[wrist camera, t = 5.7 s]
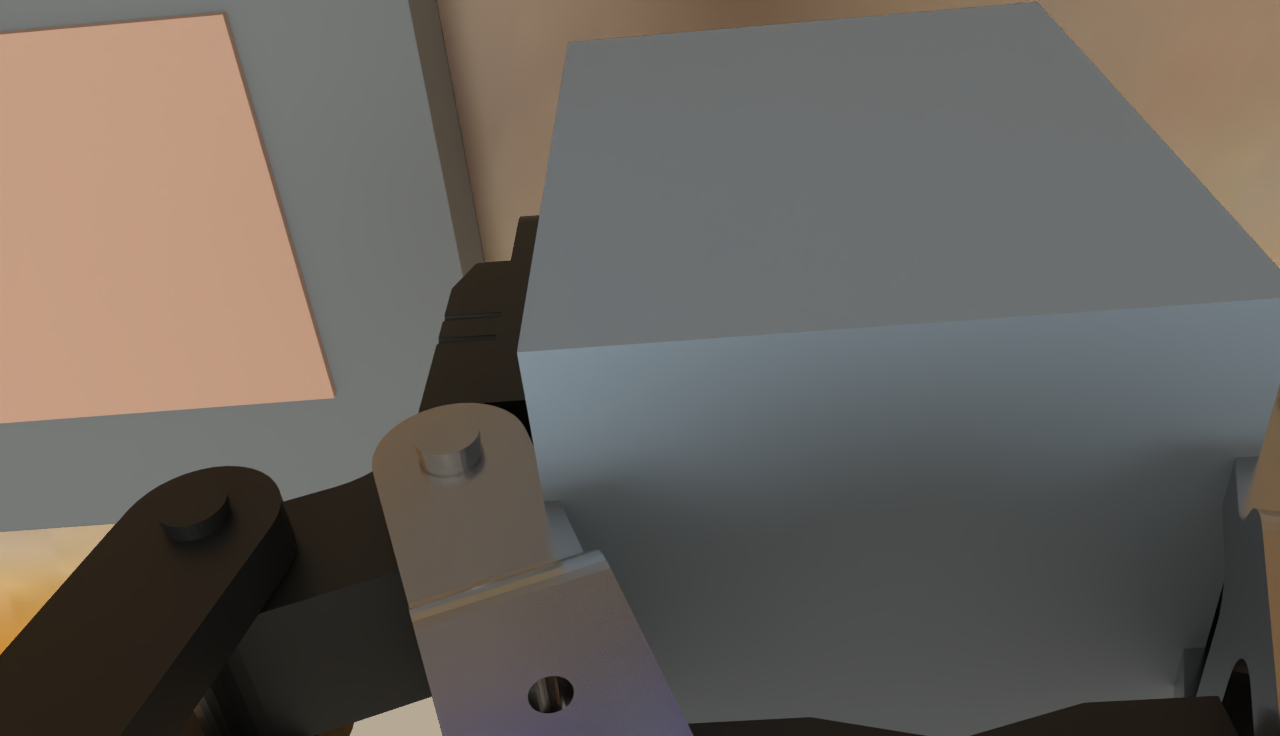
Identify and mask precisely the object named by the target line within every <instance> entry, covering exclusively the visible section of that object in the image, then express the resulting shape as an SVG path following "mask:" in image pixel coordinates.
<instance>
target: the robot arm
mask: <svg viewBox="0 0 1280 736" xmlns="http://www.w3.org/2000/svg"><path fill="white" fill-rule="evenodd" d="M539 216H540V215H536V216H523V217H520V218H519V222H518V227H517V232H516V237H515V242H514V247H513V252H512V257H511V261H499V262H486V263H476V264H475V265H474V266H473V267H472V268H471V269H470V271H469V272H468V273H467V274H466V275H465V276H464V277H463V278H462V279H461V280H460V281H459V282H458V283H457V284H456V285H455V286H454V287H453V288H452V289H451V293H450V297H449V300H448V304H447V308H446V312H445V315H444V317H445V321H443V323H442V326H441V330H440V334H439V338H438V340H439V344H437V345H436V349H435V352H434V356H433V360H432V363H431V367H430V371H429V375H428V378H427V382H426V386H425V389H424V393H423V397H422V401H421V404H420V408H419V412H418V414H416V415H413V416H411V417H409V418H407V419H406V420H404V421H402V422H401V423H399V424H398V425H396V426H395V427H394V428H393V429H391V430H390V431H389V432H388V433H387V434H386V435H385V436H384V437H383V438H382V440H381V441H380V442H379V444H378V445H377V447H376V449H375V452H374V454H373V458H372V472H370V473H368V474H367V475H365V476H363V477H360V478H358V479H356V480H353V481H351V482H348V483H345V484H342V485H339V486H336V487H333V488H329V489H326V490H322V491H319V492H315V493H312V494H308V495H305V496H301V497H298V498H294V499H291V500H287V501H284V502H283V499H282V496H281V493H280V490H279V488H278V486H277V484H276V483H275V482H274V481H273V480H272V479H271V478H270V477H269V476H268V475H266V474H264V473H263V472H261V471H258V470H255V469H252V468H247V467H241V466H219V467H211V468H206V469H200V470H197V471H193V472H190V473H186V474H184V475H181V476H179V477H176V478H174V479H171V480H169V481H167V482H165V483H163V484H161V485H159V486H158V487H156V488H155V489H153V490H151V491H150V492H148V493H147V494H146V495H144V496H143V497H142V498H140V499H139V500H138V501H137V502H136V503H135V504H134V505H133V506H132V507H131V508H130V509H129V510H128V511H127V512H126V513H125V514H124V515H123V516H122V517H121V519H120V520H119V521H118V522H117V523H116V524H115V525H114V526H113V528H112V529H111V530H110V531H109V532H108V533H107V534H106V536H105V537H104V538H103V539H102V540H101V541H100V542H99V544H98V545H97V546H96V547H95V548H94V549H93V550H92V551H91V553H90V554H89V555H88V556H87V557H86V558H85V559H84V561H83V562H82V563H81V564H80V565H79V566H78V567H77V568H76V570H75V571H74V572H73V573H72V574H71V575H70V576H69V578H68V579H67V580H66V581H65V582H64V583H63V584H62V586H61V587H60V588H59V589H58V590H57V591H56V592H55V593H54V595H53V596H52V597H51V598H50V599H49V600H48V601H47V603H46V604H45V605H44V606H43V607H42V608H41V609H40V611H39V612H38V613H37V614H36V615H35V616H34V617H33V618H32V620H31V621H30V622H29V623H28V624H27V625H26V626H25V628H24V629H23V630H22V631H21V632H20V633H19V634H18V635H17V637H16V638H15V639H14V640H13V641H12V642H11V643H10V645H9V646H8V647H7V648H6V649H5V650H4V651H3V653H2V654H1V655H0V736H349V735H350V733H351V731H352V728H353V724H354V722H357V721H360V720H363V719H365V718H369V717H372V716H375V715H378V714H380V713H383V712H387V711H390V710H393V709H396V708H399V707H402V706H405V705H408V704H410V703H413V702H417V701H419V700H423V699H425V698H429V697H431V696H432V698H433V702H434V705H435V709H436V713H437V717H438V720H439V724H440V728H441V732H442V735H443V736H925V735H919V734H913V733H906V732H900V731H894V730H888V729H882V728H875V727H869V726H863V725H857V724H850V723H844V722H838V721H832V720H826V719H819V718H813V717H802V718H783V719H764V720H745V721H726V722H707V723H688V724H687V721H686V719H685V717H684V715H683V713H682V711H681V709H680V707H679V705H678V703H677V701H676V699H675V697H674V695H673V693H672V691H671V689H670V687H669V685H668V683H667V681H666V679H665V677H664V675H663V673H662V671H661V669H660V667H659V665H658V663H657V661H656V659H655V657H654V655H653V653H652V651H651V649H650V647H649V645H648V643H647V641H646V639H645V637H644V635H643V633H642V631H641V629H640V626H639V624H638V622H637V620H636V618H635V616H634V614H633V612H632V610H631V608H630V606H629V604H628V602H627V600H626V598H625V596H624V594H623V592H622V590H621V588H620V586H619V584H618V582H617V580H616V578H615V576H614V574H613V572H612V570H611V568H610V566H609V564H608V562H607V560H606V559H605V557H604V556H603V554H602V553H601V552H600V550H598V549H597V548H595V549H592V550H589V551H585V552H584V551H583V549H582V547H581V545H580V543H579V541H578V539H577V537H576V534H575V532H574V530H573V528H572V526H571V524H570V522H569V520H568V518H567V516H566V513H565V511H564V509H563V507H562V505H561V503H560V501H559V500H555V501H544V500H543V494H542V489H541V483H540V477H539V472H538V466H537V461H536V455H535V450H534V444H533V439H532V433H531V428H530V422H529V417H528V411H527V405H526V400H525V394H524V389H523V383H522V378H521V372H520V367H519V361H518V356H517V349H518V343H519V337H520V331H521V325H522V319H523V313H524V306H525V300H526V294H527V288H528V282H529V276H530V270H531V264H532V258H533V252H534V246H535V240H536V234H537V228H538V222H539ZM1222 515H1223V535H1224V554H1225V575H1224V583H1223V586H1222V590H1221V593H1220V597H1219V601H1218V604H1217V608H1216V611H1215V615H1214V618H1213V622H1212V625H1211V629H1210V632H1209V636H1208V639H1207V643H1206V646H1205V647H1201V648H1184V649H1183V653H1182V657H1181V660H1180V664H1179V668H1178V672H1177V675H1176V679H1175V683H1174V698H1163V699H1144V700H1125V701H1106V702H1087V703H1081V704H1077V705H1074V706H1071V707H1067V708H1064V709H1060V710H1057V711H1053V712H1050V713H1046V714H1043V715H1040V716H1036V717H1033V718H1029V719H1026V720H1022V721H1019V722H1015V723H1012V724H1009V725H1005V726H1002V727H998V728H995V729H991V730H988V731H984V732H981V733H977V734H974V735H971V736H1280V385H1279V388H1278V392H1277V395H1276V399H1275V403H1274V406H1273V410H1272V413H1271V417H1270V420H1269V424H1268V427H1267V431H1266V434H1265V438H1264V441H1263V445H1262V449H1261V452H1260V456H1252V457H1236V458H1235V460H1234V464H1233V467H1232V471H1231V475H1230V478H1229V482H1228V486H1227V490H1226V493H1225V497H1224V501H1223V504H1222Z"/></svg>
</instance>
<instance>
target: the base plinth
mask: <svg viewBox="0 0 1280 736" xmlns="http://www.w3.org/2000/svg"><path fill="white" fill-rule="evenodd" d="M476 263H485V261H484V256H483V250H482V245H481V240H480V234H479V229H478V223H477V218H476V213H475V207H474V202H473V196H472V191H471V185H470V180H469V175H468V169H467V164H466V158H465V153H464V148H463V142H462V137H461V131H460V126H459V121H458V115H457V110H456V104H455V99H454V93H453V88H452V83H451V77H450V72H449V66H448V61H447V56H446V50H445V45H444V39H443V34H442V28H441V23H440V18H439V12H438V7H437V1H436V0H0V532H7V531H20V530H34V529H48V528H62V527H76V526H90V525H104V524H116V523H117V522H118V521H119V520H120V519H121V517H122V516H123V515H124V514H125V513H126V512H127V511H128V510H129V509H130V508H131V507H132V506H133V505H134V504H135V503H136V502H137V501H138V500H139V499H140V498H142V497H143V496H144V495H146V494H147V493H148V492H150V491H151V490H153V489H155V488H156V487H158V486H159V485H161V484H163V483H165V482H167V481H169V480H171V479H174V478H176V477H179V476H181V475H184V474H186V473H190V472H193V471H197V470H200V469H206V468H211V467H219V466H241V467H247V468H252V469H255V470H258V471H261V472H263V473H264V474H266V475H268V476H269V477H270V478H271V479H272V480H273V481H274V482H275V483H276V484H277V486H278V488H279V490H280V493H281V496H282V499H283V502H284V501H287V500H291V499H294V498H298V497H301V496H305V495H308V494H312V493H315V492H319V491H322V490H326V489H329V488H333V487H336V486H339V485H342V484H345V483H348V482H351V481H353V480H356V479H358V478H360V477H363V476H365V475H367V474H368V473H370V472H372V458H373V454H374V452H375V449H376V447H377V445H378V444H379V442H380V441H381V440H382V438H383V437H384V436H385V435H386V434H387V433H388V432H389V431H390V430H391V429H393V428H394V427H395V426H396V425H398V424H399V423H401V422H402V421H404V420H406V419H407V418H409V417H411V416H413V415H416V414H418V412H419V408H420V404H421V401H422V397H423V393H424V389H425V386H426V382H427V378H428V375H429V371H430V367H431V363H432V360H433V356H434V352H435V349H436V345H437V344H439V340H438V338H439V334H440V330H441V326H442V323H443V321H445V317H444V315H445V312H446V308H447V304H448V300H449V297H450V293H451V289H452V288H453V287H454V286H455V285H456V284H457V283H458V282H459V281H460V280H461V279H462V278H463V277H464V276H465V275H466V274H467V273H468V272H469V271H470V269H471V268H472V267H473V266H474V265H475V264H476Z"/></svg>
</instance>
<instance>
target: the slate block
mask: <svg viewBox="0 0 1280 736" xmlns="http://www.w3.org/2000/svg"><path fill="white" fill-rule="evenodd" d="M517 356H518V361H519V367H520V372H521V378H522V383H523V389H524V394H525V400H526V405H527V411H528V417H529V422H530V428H531V433H532V439H533V444H534V450H535V455H536V461H537V466H538V472H539V477H540V483H541V489H542V494H543V500H544V501H555V500H559V501H560V503H561V505H562V507H563V509H564V511H565V513H566V516H567V518H568V520H569V522H570V524H571V526H572V528H573V530H574V532H575V534H576V537H577V539H578V541H579V543H580V545H581V547H582V549H583V551H584V552H585V551H589V550H592V549H595V548H597V549H598V550H600V552H601V553H602V554H603V556H604V557H605V559H606V560H607V562H608V564H609V566H610V568H611V570H612V572H613V574H614V576H615V578H616V580H617V582H618V584H619V586H620V588H621V590H622V592H623V594H624V596H625V598H626V600H627V602H628V604H629V606H630V608H631V610H632V612H633V614H634V616H635V618H636V620H637V622H638V624H639V626H640V629H641V631H642V633H643V635H644V637H645V639H646V641H647V643H648V645H649V647H650V649H651V651H652V653H653V655H654V657H655V659H656V661H657V663H658V665H659V667H660V669H661V671H662V673H663V675H664V677H665V679H666V681H667V683H668V685H669V687H670V689H671V691H672V693H673V695H674V697H675V699H676V701H677V703H678V705H679V707H680V709H681V711H682V713H683V715H684V717H685V719H686V721H687V724H688V723H707V722H726V721H745V720H764V719H783V718H802V717H813V718H819V719H826V720H832V721H838V722H844V723H850V724H857V725H863V726H869V727H875V728H882V729H888V730H894V731H900V732H906V733H913V734H919V735H925V736H971V735H974V734H977V733H981V732H984V731H988V730H991V729H995V728H998V727H1002V726H1005V725H1009V724H1012V723H1015V722H1019V721H1022V720H1026V719H1029V718H1033V717H1036V716H1040V715H1043V714H1046V713H1050V712H1053V711H1057V710H1060V709H1064V708H1067V707H1071V706H1074V705H1077V704H1081V703H1087V702H1106V701H1125V700H1144V699H1163V698H1174V683H1175V679H1176V675H1177V672H1178V668H1179V664H1180V660H1181V657H1182V653H1183V649H1184V648H1201V647H1205V646H1206V643H1207V639H1208V636H1209V632H1210V629H1211V625H1212V622H1213V618H1214V615H1215V611H1216V608H1217V604H1218V601H1219V597H1220V593H1221V590H1222V586H1223V583H1224V575H1225V554H1224V535H1223V515H1222V504H1223V501H1224V497H1225V493H1226V490H1227V486H1228V482H1229V478H1230V475H1231V471H1232V467H1233V464H1234V460H1235V458H1236V457H1252V456H1260V452H1261V449H1262V445H1263V441H1264V438H1265V434H1266V431H1267V427H1268V424H1269V420H1270V417H1271V413H1272V410H1273V406H1274V403H1275V399H1276V395H1277V392H1278V388H1279V385H1280V269H1279V267H1278V266H1277V265H1276V264H1275V263H1274V262H1273V261H1272V260H1271V259H1270V258H1269V256H1268V255H1267V254H1266V253H1265V252H1264V251H1263V250H1262V249H1261V248H1260V247H1259V245H1258V244H1257V243H1256V242H1255V241H1254V240H1253V239H1252V238H1251V237H1250V236H1249V234H1248V233H1247V232H1246V231H1245V230H1244V229H1243V228H1242V227H1241V226H1240V225H1239V223H1238V222H1237V221H1236V220H1235V219H1234V218H1233V217H1232V216H1231V215H1230V214H1229V212H1228V211H1227V210H1226V209H1225V208H1224V207H1223V206H1222V205H1221V204H1220V203H1219V201H1218V200H1217V199H1216V198H1215V197H1214V196H1213V195H1212V194H1211V193H1210V192H1209V190H1208V189H1207V188H1206V187H1205V186H1204V185H1203V184H1202V183H1201V182H1200V181H1199V179H1198V178H1197V177H1196V176H1195V175H1194V174H1193V173H1192V172H1191V171H1190V170H1189V168H1188V167H1187V166H1186V165H1185V164H1184V163H1183V162H1182V161H1181V160H1180V159H1179V157H1178V156H1177V155H1176V154H1175V153H1174V152H1173V151H1172V150H1171V149H1170V148H1169V146H1168V145H1167V144H1166V143H1165V142H1164V141H1163V140H1162V139H1161V138H1160V137H1159V135H1158V134H1157V133H1156V132H1155V131H1154V130H1153V129H1152V128H1151V127H1150V126H1149V124H1148V123H1147V122H1146V121H1145V120H1144V119H1143V118H1142V117H1141V116H1140V115H1139V113H1138V112H1137V111H1136V110H1135V109H1134V108H1133V107H1132V106H1131V105H1130V104H1129V102H1128V101H1127V100H1126V99H1125V98H1124V97H1123V96H1122V95H1121V94H1120V93H1119V91H1118V90H1117V89H1116V88H1115V87H1114V86H1113V85H1112V84H1111V83H1110V82H1109V80H1108V79H1107V78H1106V77H1105V76H1104V75H1103V74H1102V73H1101V72H1100V71H1099V69H1098V68H1097V67H1096V66H1095V65H1094V64H1093V63H1092V62H1091V61H1090V60H1089V58H1088V57H1087V56H1086V55H1085V54H1084V53H1083V52H1082V51H1081V50H1080V49H1079V47H1078V46H1077V45H1076V44H1075V43H1074V42H1073V41H1072V40H1071V39H1070V38H1069V36H1068V35H1067V34H1066V33H1065V32H1064V31H1063V30H1062V29H1061V28H1060V27H1059V25H1058V24H1057V23H1056V22H1055V21H1054V20H1053V19H1052V18H1051V17H1050V16H1049V14H1048V13H1047V12H1046V11H1045V10H1044V9H1043V8H1042V7H1041V6H1040V4H1039V3H1038V2H1029V3H1017V4H1006V5H994V6H982V7H971V8H959V9H948V10H936V11H924V12H913V13H901V14H889V15H878V16H866V17H854V18H843V19H831V20H819V21H808V22H796V23H785V24H773V25H761V26H750V27H738V28H726V29H715V30H703V31H691V32H680V33H668V34H656V35H645V36H633V37H622V38H610V39H598V40H587V41H575V42H568V46H567V52H566V58H565V64H564V70H563V76H562V82H561V88H560V95H559V101H558V107H557V113H556V119H555V125H554V131H553V137H552V143H551V149H550V155H549V161H548V167H547V173H546V179H545V185H544V191H543V197H542V204H541V210H540V216H539V222H538V228H537V234H536V240H535V246H534V252H533V258H532V264H531V270H530V276H529V282H528V288H527V294H526V300H525V306H524V313H523V319H522V325H521V331H520V337H519V343H518V349H517Z"/></svg>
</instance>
